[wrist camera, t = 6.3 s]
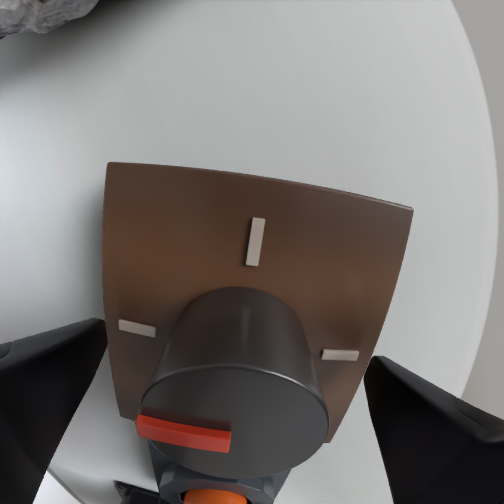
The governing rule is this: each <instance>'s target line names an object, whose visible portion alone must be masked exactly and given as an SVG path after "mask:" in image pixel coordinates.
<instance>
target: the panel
mask: <svg viewBox="0 0 504 504" xmlns="http://www.w3.org/2000/svg"><path fill="white" fill-rule="evenodd" d="M413 211H414V210H413V208H412V207H408V206H405V205H401V204H397V203H393V202H389V201H385V200H381V199H377V198H372V197H368V196H364V195H359V194H355V193H350V192H345V191H341V190H336V189H331V188H326V187H321V186H316V185H310V184H305V183H299V182H293V181H288V180H282V179H276V178H269V177H263V176H256V175H249V174H242V173H234V172H227V171H218V170H210V169H201V168H191V167H181V166H169V165H157V164H142V163H124V162H109V163H108V164H107V169H106V179H105V190H104V204H103V223H102V280H103V300H104V314H105V323H106V329H107V339H108V351H109V358H110V365H111V371H112V377H113V383H114V388H115V393H116V398H117V403H118V408H119V412H120V416H121V417H124V418H127V419H130V420H134V421H136V419H137V417H138V415H139V412H138V410H139V403H140V400H141V397H142V395H143V393H144V391H145V388H146V386H147V384H148V382H149V380H150V378H151V376H152V373H153V371H154V369H155V367H156V365H157V363H158V361H159V359H160V357H161V355H162V353H163V351H164V348H165V346H166V344H167V342H168V340H169V338H170V336H171V334H172V332H173V330H174V328H175V326H176V324H177V322H178V320H179V318H180V316H181V315H182V313H183V312H184V310H185V309H186V308H187V307H188V306H189V305H190V304H191V303H192V302H193V301H194V300H195V299H197V298H199V297H200V296H202V295H204V294H206V293H208V292H210V291H213V290H217V289H221V288H226V287H249V288H254V289H259V290H262V291H265V292H267V293H270V294H272V295H274V296H276V297H277V298H279V299H281V300H282V301H283V302H285V303H286V304H287V305H288V306H289V307H290V308H291V309H292V310H293V311H294V312H295V314H296V315H297V317H298V318H299V320H300V322H301V324H302V327H303V330H304V334H305V337H306V340H307V343H308V346H309V349H310V353H311V356H312V359H313V362H314V366H315V369H316V372H317V375H318V379H319V382H320V385H321V388H322V392H323V395H324V398H325V402H326V405H327V409H328V412H329V416H330V426H329V431H328V434H327V437H326V439H325V441H324V443H330V442H331V440H332V438H333V436H334V434H335V433H336V431H337V429H338V427H339V425H340V423H341V421H342V419H343V418H344V416H345V414H346V412H347V410H348V408H349V406H350V403H351V401H352V399H353V397H354V395H355V393H356V391H357V389H358V386H359V384H360V382H361V380H362V377H363V375H364V373H365V370H366V368H367V366H368V363H369V361H370V358H371V356H372V353H373V351H374V348H375V346H376V343H377V340H378V338H379V335H380V332H381V330H382V327H383V324H384V321H385V318H386V315H387V312H388V309H389V306H390V303H391V300H392V297H393V293H394V290H395V287H396V283H397V280H398V276H399V272H400V269H401V265H402V261H403V257H404V253H405V249H406V245H407V240H408V236H409V231H410V227H411V222H412V217H413Z"/></svg>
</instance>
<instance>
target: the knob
mask: <svg viewBox="0 0 504 504" xmlns="http://www.w3.org/2000/svg"><path fill="white" fill-rule="evenodd" d="M138 412H139V415H138V417H137V419H136V422H135V424H136V428H137V433H138V436H140V437H144V438H148V440H149V441H150V442H151V443H152V444H153V445H154V447H155V448H156V449H158V450H159V451H160V452H161V453H162V454H164V455H165V456H166V457H168V458H169V459H171V460H172V461H174V462H176V463H178V464H180V465H182V466H184V467H186V468H188V469H191V470H193V471H196V472H200V473H203V474H207V475H211V476H216V477H223V478H234V479H247V478H258V477H265V476H270V475H274V474H278V473H281V472H284V471H287V470H289V469H291V468H294V467H296V466H297V465H299V464H301V463H303V462H304V461H306V460H307V459H309V458H310V457H311V456H312V455H313V454H315V453H316V452H317V450H318V449H319V448H320V447H321V446H322V444H323V443H324V441H325V439H326V437H327V434H328V431H329V426H330V416H329V412H328V409H327V405H326V402H325V398H324V395H323V392H322V388H321V385H320V382H319V379H318V375H317V372H316V369H315V366H314V362H313V359H312V356H311V353H310V349H309V346H308V343H307V340H306V337H305V334H304V330H303V327H302V324H301V322H300V320H299V318H298V317H297V315H296V314H295V312H294V311H293V310H292V309H291V308H290V307H289V306H288V305H287V304H286V303H285V302H283V301H282V300H281V299H279V298H277V297H276V296H274V295H272V294H270V293H267V292H265V291H262V290H259V289H254V288H249V287H226V288H221V289H217V290H213V291H210V292H208V293H206V294H204V295H202V296H200V297H199V298H197V299H195V300H194V301H193V302H192V303H191V304H190V305H189V306H188V307H187V308H186V309H185V310H184V312H183V313H182V315H181V316H180V318H179V320H178V322H177V324H176V326H175V328H174V330H173V332H172V334H171V336H170V338H169V340H168V342H167V344H166V346H165V348H164V351H163V353H162V355H161V357H160V359H159V361H158V363H157V365H156V367H155V369H154V371H153V373H152V376H151V378H150V380H149V382H148V384H147V386H146V388H145V391H144V393H143V395H142V397H141V400H140V403H139V410H138Z"/></svg>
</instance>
